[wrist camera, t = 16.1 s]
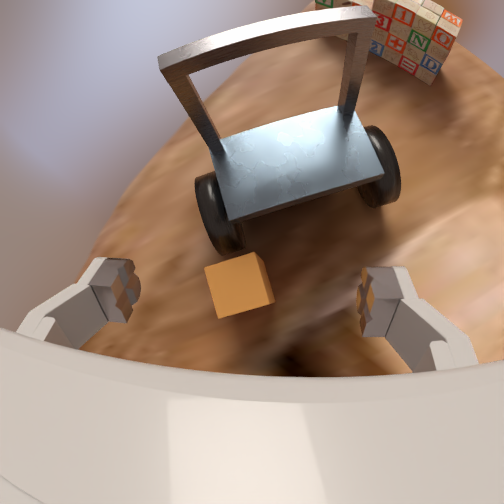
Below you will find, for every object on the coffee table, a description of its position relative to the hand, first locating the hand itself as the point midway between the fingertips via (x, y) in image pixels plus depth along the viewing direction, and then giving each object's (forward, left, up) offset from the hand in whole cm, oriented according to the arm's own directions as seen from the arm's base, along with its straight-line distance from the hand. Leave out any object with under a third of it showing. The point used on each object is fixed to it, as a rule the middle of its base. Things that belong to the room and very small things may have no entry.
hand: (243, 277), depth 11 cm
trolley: (+10, -5, -26) cm, 28 cm away
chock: (+1, +4, -26) cm, 26 cm away
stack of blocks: (+32, -28, -26) cm, 50 cm away
